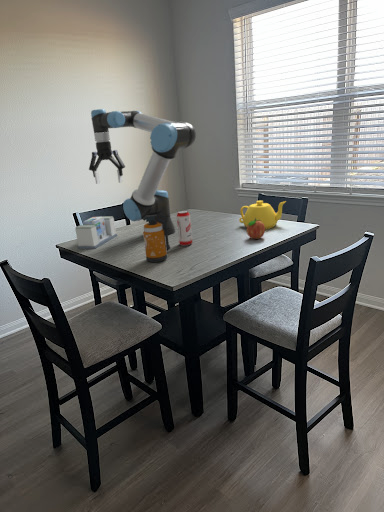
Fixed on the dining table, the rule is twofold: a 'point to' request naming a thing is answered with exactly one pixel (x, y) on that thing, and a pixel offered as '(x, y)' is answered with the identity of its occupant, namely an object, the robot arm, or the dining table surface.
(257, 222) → the fruit
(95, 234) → the white u-shaped holder
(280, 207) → the teapot
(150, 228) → the canister
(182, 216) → the beer can
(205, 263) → the dining table surface
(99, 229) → the light bulb box
